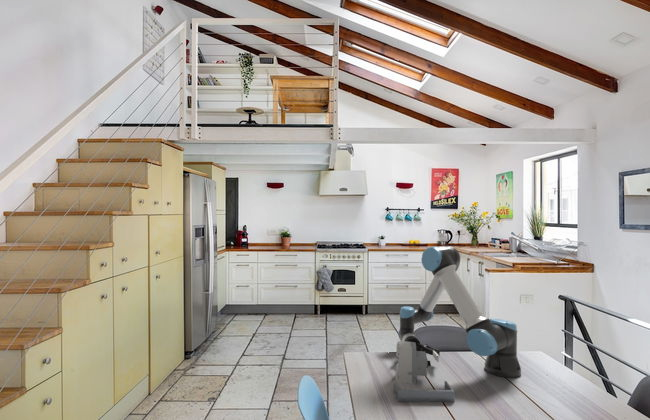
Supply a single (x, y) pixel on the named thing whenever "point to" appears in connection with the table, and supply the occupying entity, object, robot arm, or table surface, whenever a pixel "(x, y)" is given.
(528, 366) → the table surface
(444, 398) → the grey u-shaped bracket
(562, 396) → the table surface
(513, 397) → the table surface
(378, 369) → the table surface
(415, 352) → the circuit breaker
